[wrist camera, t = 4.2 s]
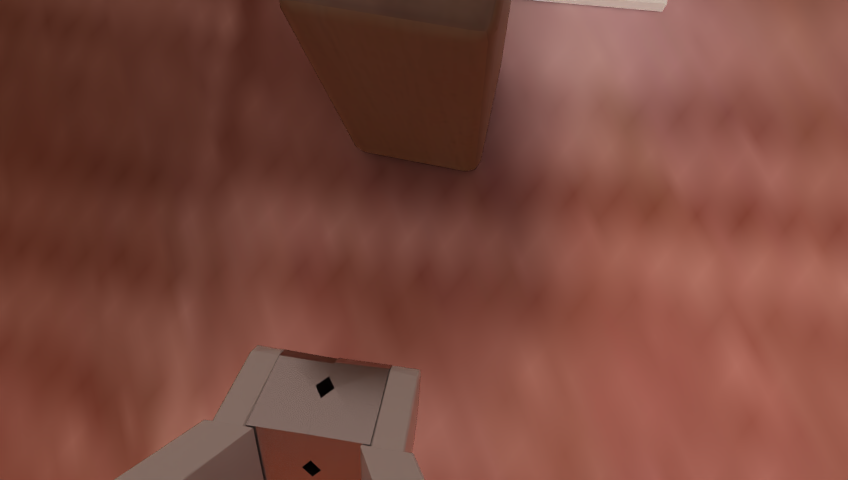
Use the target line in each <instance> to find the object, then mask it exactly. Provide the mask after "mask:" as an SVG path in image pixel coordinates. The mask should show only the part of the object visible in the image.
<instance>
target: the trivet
mask: <svg viewBox="0 0 848 480" xmlns="http://www.w3.org/2000/svg"><path fill="white" fill-rule="evenodd" d="M535 1H546V2H558V3H569V4H580V5H592V6H603V7H615V8H626V9H638V10H649V11H660V12H662V11H663V9H664V8H665V6H666V5H667V0H535Z"/></svg>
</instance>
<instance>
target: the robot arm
mask: <svg viewBox="0 0 848 480" xmlns="http://www.w3.org/2000/svg"><path fill="white" fill-rule="evenodd" d="M420 378H421V370H419V369H412V368H405V367H398V366H392V365H388V364H380V363H373V362H365V361H358V360H350V359H343V358H338V359H336V358H330V357H325V356H319V355H313V354H308V353H302V352H296V351H290V350H283V349H277V348H271V347H265V346H259V345H257V346H256V347H255V348H254V349H253V350H252V351H251V352H250V354H249V355H248V357H247V359H246V361H245V363H244V365H243V366H242V368H241V370H240V372H239V374H238V375H237V377H236V379H235V381H234V383H233V384H232V386H231V388H230V390H229V392H228V393H227V395H226V397H225V399H224V401H223V403H222V404H221V406H220V408H219V410H218V412H217V413H216V415H215V417H214V419H213V421H211V420H203V421H201V422H200V423H198V424H197V425H195V426H194V427H192V428H191V429H189V430H188V431H186V432H185V433H183V434H182V435H180V436H179V437H177V438H176V439H174V440H173V441H171V442H170V443H168V444H167V445H165V446H164V447H162V448H161V449H159V450H158V451H156V452H155V453H153V454H152V455H150V456H149V457H147V458H146V459H144V460H143V461H141V462H140V463H138V464H137V465H135V466H134V467H132V468H131V469H130V470H128V471H127V472H125V473H124V474H122V475H121V476H119V477H118V478H116V479H115V480H425V479H424V477H423V474H422V472H421V470H420V467H419V465H418V463H417V461H416V458H415V456H414V454H413V453H412V450H413V445H414V439H415V430H416V422H417V414H418V403H419V390H420Z"/></svg>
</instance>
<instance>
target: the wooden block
mask: <svg viewBox="0 0 848 480" xmlns="http://www.w3.org/2000/svg"><path fill="white" fill-rule="evenodd" d="M279 1H280V8H281V9H282V11H283V13H284V15H285V17H286V19H287V21H288V22H289V24H290V26H291V28H292V30H293V32H294V33H295V35H296V37H297V39H298V41H299V43H300V44H301V46H302V48H303V50H304V52H305V54H306V55H307V57H308V59H309V61H310V63H311V65H312V67H313V68H314V70H315V72H316V74H317V76H318V78H319V79H320V81H321V83H322V85H323V87H324V89H325V90H326V92H327V94H328V96H329V98H330V100H331V101H332V103H333V105H334V107H335V109H336V111H337V113H338V114H339V116H340V118H341V120H342V122H343V124H344V125H345V127H346V129H347V131H348V133H349V135H350V136H351V138H352V140H353V142H354V144H355V146H356V147H357V148H359V149H360V150H362V151H364V152H368V153H373V154H378V155H384V156H389V157H394V158H399V159H404V160H410V161H415V162H420V163H425V164H431V165H436V166H441V167H446V168H451V169H457V170H462V171H468V170H474V169H476V167H477V166H478V164H479V163H480V161H481V157H482V152H483V148H484V143H485V138H486V133H487V128H488V124H489V119H490V114H491V109H492V105H493V100H494V95H495V90H496V86H497V81H498V76H499V71H500V67H501V61H502V54H503V48H504V42H505V35H506V29H507V23H508V17H509V10H510V4H511V0H279Z"/></svg>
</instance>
